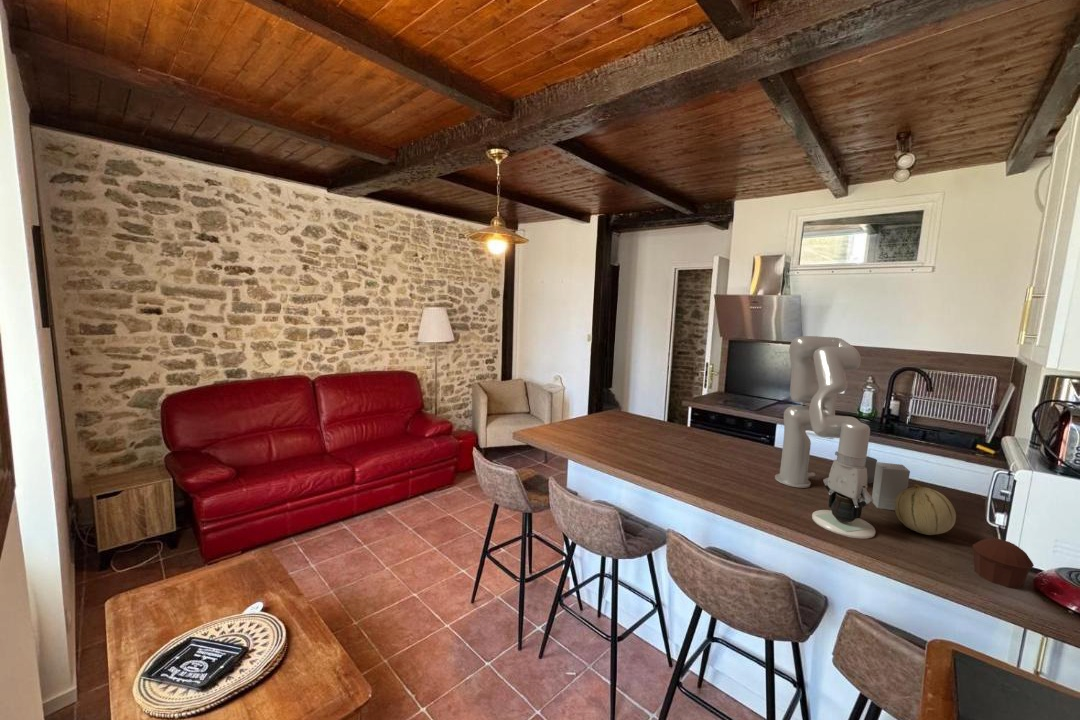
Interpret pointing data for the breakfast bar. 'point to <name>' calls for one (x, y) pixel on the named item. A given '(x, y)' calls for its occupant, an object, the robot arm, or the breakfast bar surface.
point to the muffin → (1001, 562)
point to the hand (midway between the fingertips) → (843, 512)
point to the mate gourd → (842, 508)
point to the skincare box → (889, 484)
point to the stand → (843, 525)
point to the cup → (870, 468)
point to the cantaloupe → (925, 510)
